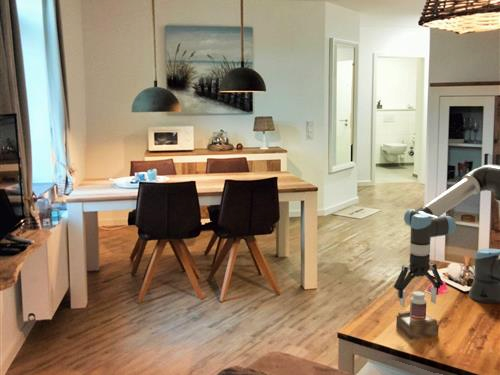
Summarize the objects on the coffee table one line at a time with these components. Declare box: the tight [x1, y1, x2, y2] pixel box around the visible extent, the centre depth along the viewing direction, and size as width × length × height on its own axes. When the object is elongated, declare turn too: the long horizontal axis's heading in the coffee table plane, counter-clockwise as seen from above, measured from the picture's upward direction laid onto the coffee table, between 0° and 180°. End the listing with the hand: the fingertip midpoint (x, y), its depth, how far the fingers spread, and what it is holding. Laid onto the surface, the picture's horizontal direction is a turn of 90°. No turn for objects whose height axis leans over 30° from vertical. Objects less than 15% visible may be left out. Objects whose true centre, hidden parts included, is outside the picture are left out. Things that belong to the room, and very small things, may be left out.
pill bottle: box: [409, 290, 427, 321], centre depth 217 cm, size 6×6×11 cm
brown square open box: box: [395, 310, 440, 340], centre depth 218 cm, size 12×12×6 cm
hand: (417, 304), depth 217 cm, fingers open, 13 cm apart
